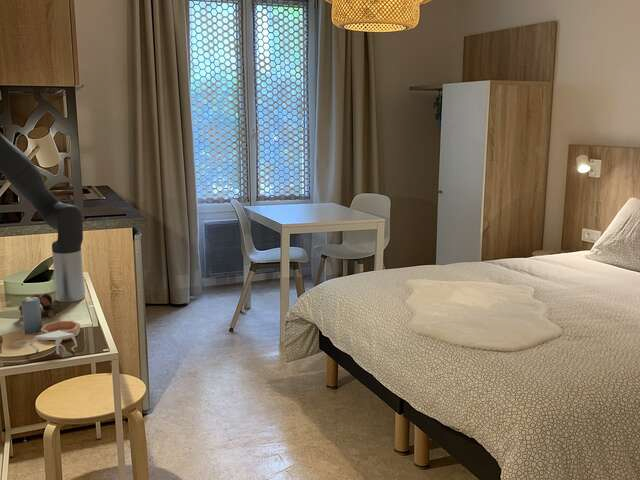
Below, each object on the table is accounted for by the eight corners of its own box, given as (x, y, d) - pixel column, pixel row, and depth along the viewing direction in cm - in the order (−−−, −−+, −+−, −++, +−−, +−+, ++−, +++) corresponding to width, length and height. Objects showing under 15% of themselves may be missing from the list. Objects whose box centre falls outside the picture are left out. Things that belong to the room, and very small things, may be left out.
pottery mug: (50, 324, 203) (33, 303, 199) (26, 334, 205) (10, 314, 202) (66, 302, 213) (50, 283, 210) (43, 312, 216) (27, 293, 212)
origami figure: (74, 342, 187) (73, 326, 186) (78, 352, 180) (76, 336, 179) (29, 348, 182) (27, 332, 181) (30, 360, 175) (29, 342, 174)
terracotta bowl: (49, 328, 197) (48, 320, 196) (83, 328, 198) (82, 320, 197) (37, 341, 187) (37, 333, 187) (73, 340, 188) (72, 332, 188)
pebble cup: (27, 328, 197) (24, 295, 195) (44, 328, 197) (41, 294, 195) (21, 334, 192) (18, 300, 190) (38, 334, 192) (35, 300, 190)
